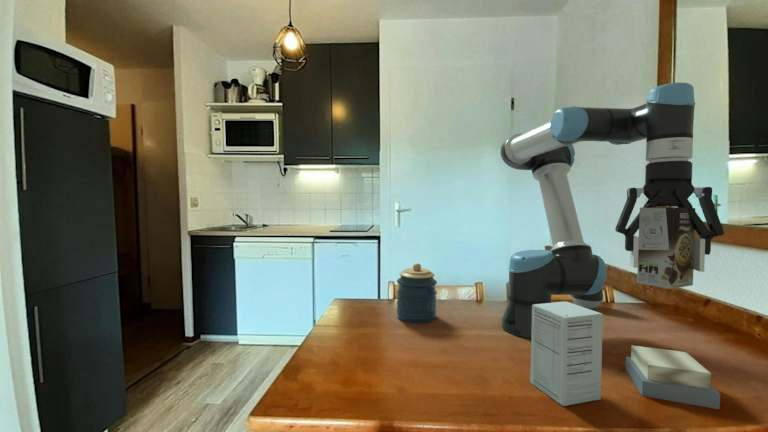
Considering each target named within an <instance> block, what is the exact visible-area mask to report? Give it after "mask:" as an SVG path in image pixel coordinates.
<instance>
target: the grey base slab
mask: <svg viewBox="0 0 768 432" xmlns="http://www.w3.org/2000/svg"><path fill="white" fill-rule="evenodd" d="M625 370H626V372H627V374H628V376H629V377H630V379H631V380H632V382H633V384H634V385H635V387H636V388H637V390H638V392H639V393H640V395H641V397H647V398H653V399H657V400H658V399H659V400H664V401H670V402H674V403H680V404H687V405H693V406H697V407H699V406H700V407H705V408H709V409H715V410H720V408H721V393H720V392H719V391H718V390H717V389H716V388H715V387H714V386H713V385H712V384H711V383H710V389H708V388H701V387H695V386H688V385H681V384H674V383H668V382H661V381H654V380H648V379H647V378H646V377H645V376H644V374H643V373H642V372H641V371H640V369H639V368H638V367H637V366H636V364H635V363H634V362H633V361H632V359H631V356H628V355H627V356H625Z"/></svg>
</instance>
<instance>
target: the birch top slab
mask: <svg viewBox="0 0 768 432" xmlns="http://www.w3.org/2000/svg"><path fill="white" fill-rule="evenodd" d="M630 348H631V349H630V357H631V359H632V361H633V362H634V363H635V364H636V366H637V367H638V368H639V369H640V371H641V372H642V373H643V374H644V376H645V377H646V378H647V379H648V380H654V381H661V382H668V383H674V384H681V385H688V386H695V387H701V388H708V389H710V384H711V382H712V381H711V380H712V373H711V371H710V370H708V369H706V368H705V366H704V365H702V364H700V363H699V361H697V360H696V359H695V358H694V357H693V356H691V355H690V354H689V353H688V352H686V351H681V350H680V351H679V350H671V349H665V348H655V347H647V346H640V345H633V344H632V345H630Z"/></svg>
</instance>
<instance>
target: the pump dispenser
mask: <svg viewBox="0 0 768 432" xmlns="http://www.w3.org/2000/svg"><path fill="white" fill-rule="evenodd" d="M570 297H571V298H572V302H573V304H575V305H578V306H581V307H584V308H587V309H590V310H593V309H597V308H599V307H600V306H601V304H602V302H603V300H604V291H603V288H602V289H601V290H600V291H599V292H597V293H595V294H587V295H570Z"/></svg>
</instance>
